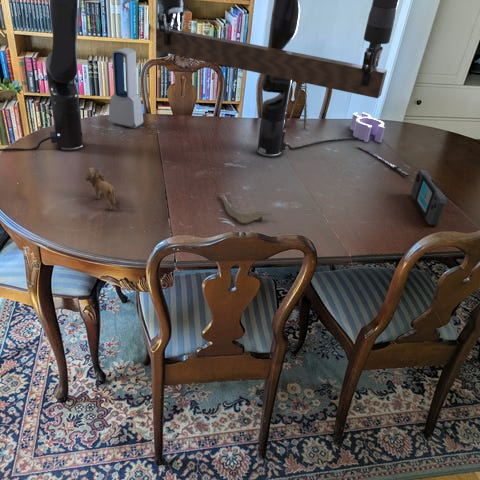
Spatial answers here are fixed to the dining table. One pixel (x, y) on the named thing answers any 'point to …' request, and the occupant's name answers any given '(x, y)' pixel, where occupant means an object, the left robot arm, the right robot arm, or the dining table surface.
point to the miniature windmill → (300, 104)
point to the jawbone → (239, 215)
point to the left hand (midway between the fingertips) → (171, 43)
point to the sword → (386, 162)
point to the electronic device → (125, 102)
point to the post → (273, 62)
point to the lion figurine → (101, 186)
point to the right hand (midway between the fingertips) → (366, 83)
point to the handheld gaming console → (428, 197)
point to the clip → (367, 127)
